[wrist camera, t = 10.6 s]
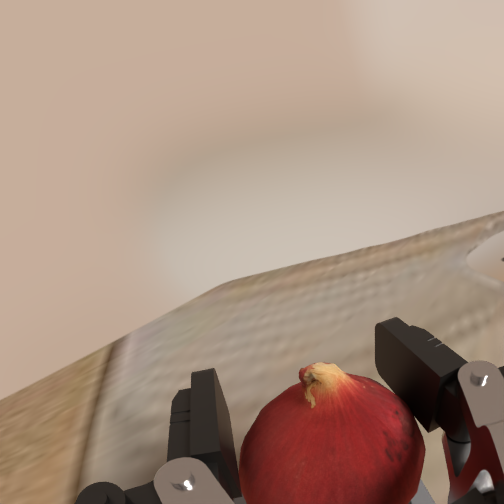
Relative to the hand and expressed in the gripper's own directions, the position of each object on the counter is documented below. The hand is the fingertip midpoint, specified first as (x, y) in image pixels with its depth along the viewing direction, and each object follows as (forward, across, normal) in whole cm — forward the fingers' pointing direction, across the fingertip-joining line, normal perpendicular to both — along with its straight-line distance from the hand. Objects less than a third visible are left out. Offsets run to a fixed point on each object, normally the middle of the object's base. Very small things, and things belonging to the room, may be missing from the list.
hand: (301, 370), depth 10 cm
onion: (-3, 0, +6) cm, 7 cm away
